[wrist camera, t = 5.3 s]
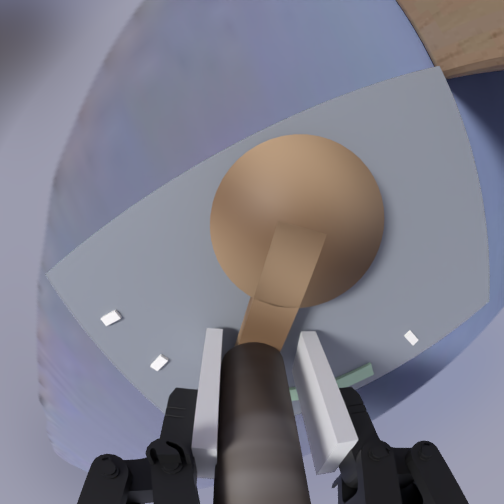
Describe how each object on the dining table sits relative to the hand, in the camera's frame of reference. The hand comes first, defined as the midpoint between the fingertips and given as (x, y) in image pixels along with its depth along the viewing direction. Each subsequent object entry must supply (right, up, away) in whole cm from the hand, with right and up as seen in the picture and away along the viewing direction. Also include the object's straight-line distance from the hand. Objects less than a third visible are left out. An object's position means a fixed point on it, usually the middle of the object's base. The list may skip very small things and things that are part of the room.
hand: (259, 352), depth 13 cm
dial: (0, +3, -1) cm, 3 cm away
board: (+2, +3, +1) cm, 4 cm away
